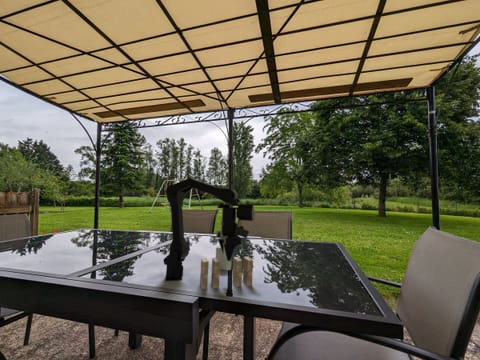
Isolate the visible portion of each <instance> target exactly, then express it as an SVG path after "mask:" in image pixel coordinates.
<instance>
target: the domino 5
mask: <svg viewBox="0 0 480 360" xmlns="http://www.w3.org/2000/svg"><path fill="white" fill-rule="evenodd" d="M253 268H254V259H252V258H251V257H250V256H243V262H242V282H243V283H244V284H245V286H247V287H253V276H254V275H253V273H254V269H253Z"/></svg>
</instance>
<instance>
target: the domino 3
mask: <svg viewBox="0 0 480 360" xmlns="http://www.w3.org/2000/svg"><path fill="white" fill-rule="evenodd" d="M232 259H233V256H232V257H231V260H230V261H228V260H227V257H226V254H225V250H224V249H223V267H224V268H225V269H226V270H225V271H231V270H232V261H233V260H232Z"/></svg>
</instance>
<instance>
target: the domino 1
mask: <svg viewBox="0 0 480 360" xmlns="http://www.w3.org/2000/svg"><path fill="white" fill-rule="evenodd" d="M200 260H201V261H200V275H199V277H200V278H199V286H200V288H201V290H208V284H209V260H208V259H207V257H201V259H200Z"/></svg>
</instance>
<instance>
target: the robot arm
mask: <svg viewBox="0 0 480 360" xmlns="http://www.w3.org/2000/svg"><path fill="white" fill-rule="evenodd" d="M192 189H195V190H198V191H201V192H204V193H206V194H208V195H209V194H210V195H212V196H214V197H215V198H217V199H218V200H220V201H222V202H221V203H220V204H219V205H218V206H217V209H221V210H222V212H221V221H220V225H221V229H220V230H218V231H217V232H216V235H215V236H216V239H217V241H218V245H219V246H220V247H221V250H222V253H223V249H224V250H225V254H226V257H227V260H228V261H230V260H231V257H232V258H233V254H234V251H235V248H237V246H239V245H242V241H243V239H242V238H245V239H248V236H249V233H250V231H249V230H247V229H245V228H244V226H243V225H241V224H239V225H238V222H236V221H237V219H238V220H239V221H243V222H245V221H246V222H254V221H255V216H256V215H255V213H256V212H255V206H254V204H253V203H251V204H250V203H248V204H244V203H243V202H242V201H241V200H240V198H239V195H238V194H239V193H238V192H237V191H236V190H234V189H231V188H225V187H218V186H215V185H212V184H208V183H206V182H204V181H200V180H198V179H196V178H193V177H187V178H186V179H184V180H182V181H178V182H176V183H174V184H169V185H168V186H167V187H166V188H165V196H166V198H167V199H166V200H167V201H168V203H169V205H170V215H171V231H172V233H171V234H172V240H171V243H170V246H169V252H168V254H167V255H166V256H165V258H163V261H162V262H163V264H164V266H166V270H165V271H166V272H165V277H164V278H165V281H179V280H182V277H184V265H183V262H184V261H185V260H186V258H187V257H188V255H189V254H190V251H191V247H190V241H189V240H188V241H187V240H186V238H185V232H184V217H183V203H184V201H185V194H187V193H189V192H190V191H191V190H192ZM225 203H226V204H225ZM231 261H232V260H231Z"/></svg>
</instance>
